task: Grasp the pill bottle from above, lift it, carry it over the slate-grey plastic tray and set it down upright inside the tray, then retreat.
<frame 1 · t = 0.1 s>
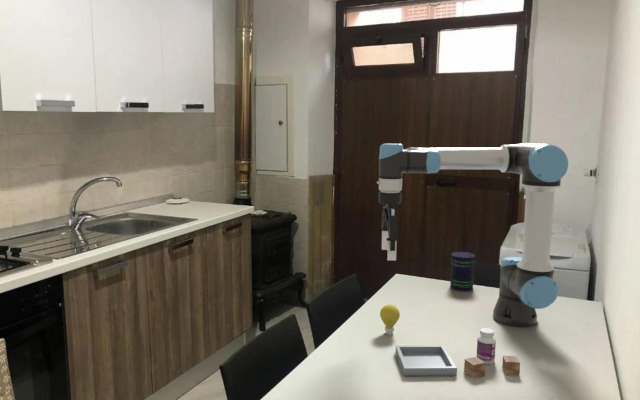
hand: (388, 254, 172), 28 cm above the table, fingers open, 13 cm apart
walnut block b: (510, 371, 151), on the table
tray: (424, 364, 155), on the table
storage jar: (461, 288, 226), on the table
walnut block a: (474, 373, 149), on the table
pill bottle: (485, 361, 157), on the table
light bulb: (389, 333, 177), on the table
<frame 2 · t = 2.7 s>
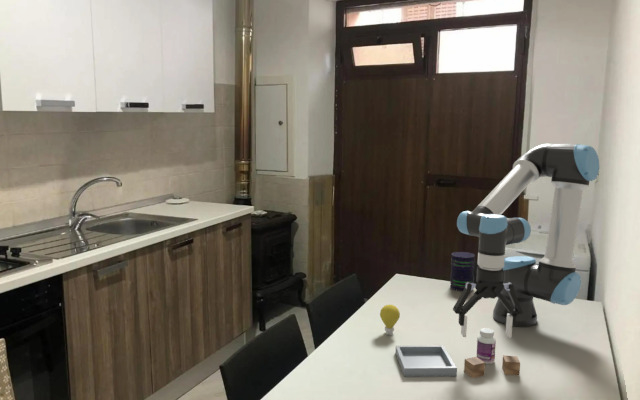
hand: (485, 335, 156), 8 cm above the table, fingers open, 13 cm apart
nothing on the table moved.
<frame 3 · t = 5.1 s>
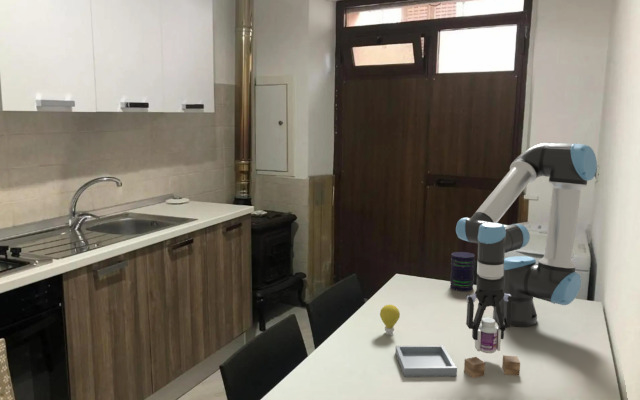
hand: (487, 348, 157), 4 cm above the table, fingers closed on pill bottle, 5 cm apart
pill bottle: (487, 350, 157), point 3 cm above the table, touching gripper
everything else where it was.
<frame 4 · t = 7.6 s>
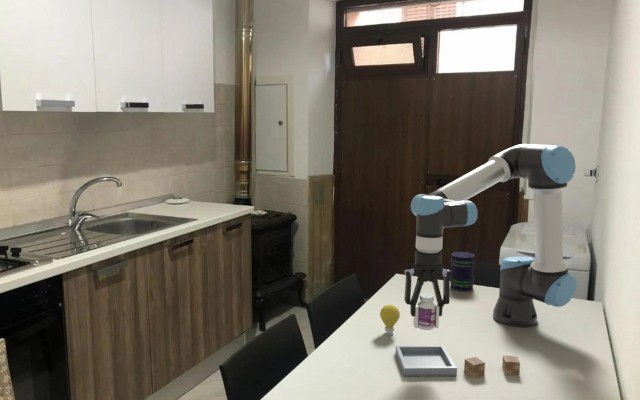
hand: (425, 326, 153), 12 cm above the table, fingers closed on pill bottle, 5 cm apart
pill bottle: (425, 327, 153), point 11 cm above the table, touching gripper
everything else where it was.
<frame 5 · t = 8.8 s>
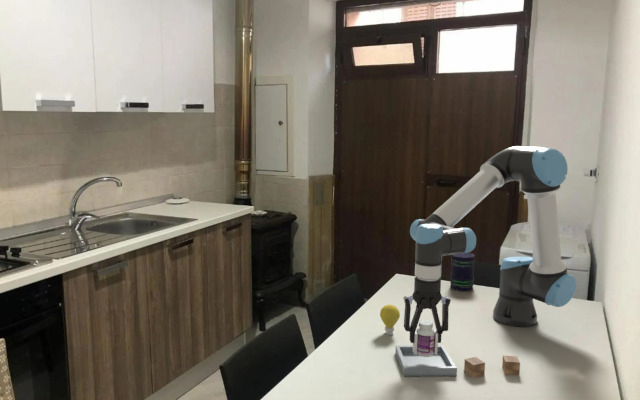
hand: (424, 352, 154), 4 cm above the table, fingers closed on pill bottle, 5 cm apart
pill bottle: (424, 354, 154), point 3 cm above the table, touching gripper
everything else where it was.
when the fingers open (2 cm above the table, at t = 10.0 s): pill bottle stays where it is, resting on tray.
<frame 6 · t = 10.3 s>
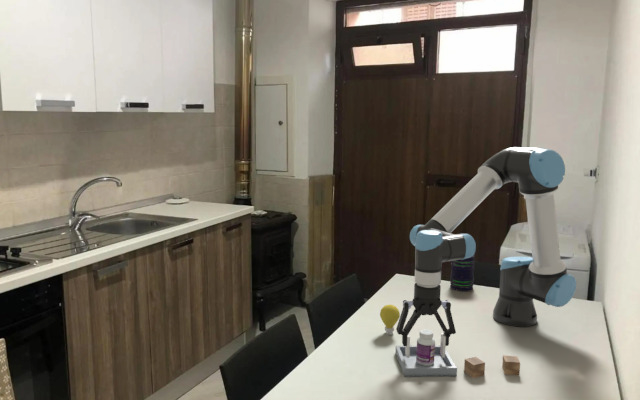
hand: (424, 355, 154), 3 cm above the table, fingers open, 10 cm apart
pill bottle: (425, 363, 155), resting on tray
everything else where it was.
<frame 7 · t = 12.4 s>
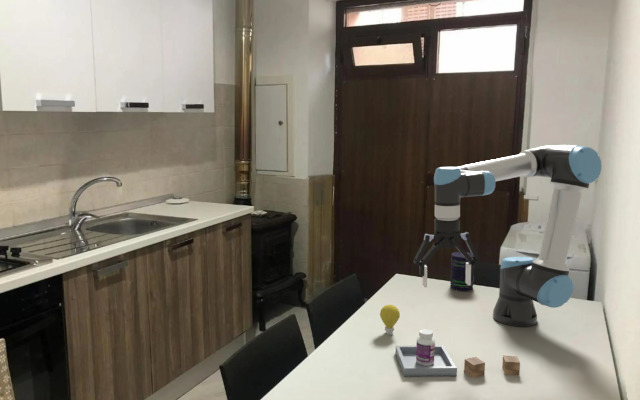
hand: (446, 285, 161), 21 cm above the table, fingers open, 13 cm apart
nothing on the table moved.
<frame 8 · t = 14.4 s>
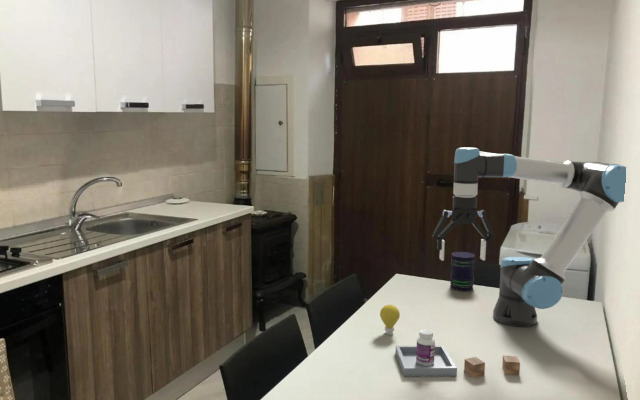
hand: (462, 259, 171), 27 cm above the table, fingers open, 13 cm apart
nothing on the table moved.
at the end: pill bottle inside the target area on the tray (0.1 cm from its centre), point 0.3 cm above the tray's base; pill bottle tilted 0°; the gripper is holding nothing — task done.
